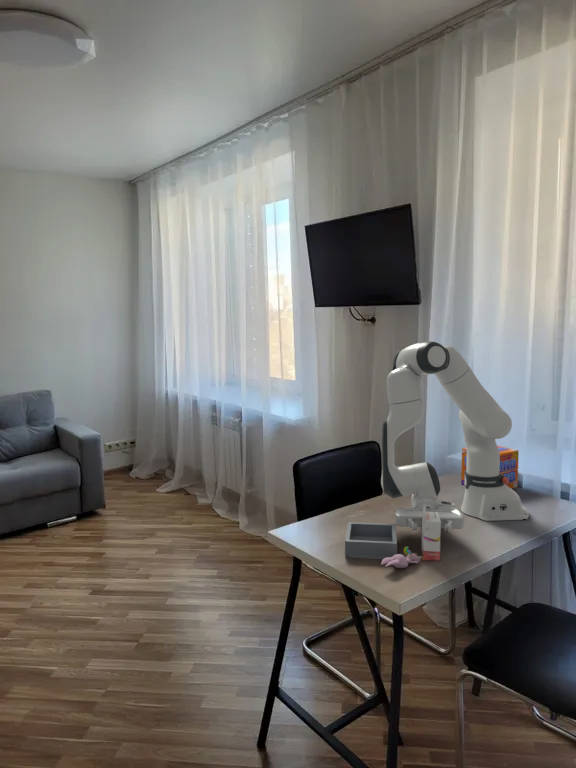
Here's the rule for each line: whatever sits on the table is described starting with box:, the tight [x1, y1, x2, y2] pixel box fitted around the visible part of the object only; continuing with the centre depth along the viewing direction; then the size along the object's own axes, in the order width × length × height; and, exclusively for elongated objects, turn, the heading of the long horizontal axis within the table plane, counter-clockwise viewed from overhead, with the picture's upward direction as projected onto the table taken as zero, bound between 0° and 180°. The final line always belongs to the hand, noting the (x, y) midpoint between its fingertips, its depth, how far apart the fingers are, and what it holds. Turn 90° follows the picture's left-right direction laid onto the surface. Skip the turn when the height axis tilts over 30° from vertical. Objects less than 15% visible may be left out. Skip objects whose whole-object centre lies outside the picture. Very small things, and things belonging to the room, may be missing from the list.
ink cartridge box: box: [421, 503, 442, 562], centre depth 161 cm, size 9×5×15 cm, turn 170°
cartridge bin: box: [344, 521, 398, 560], centre depth 167 cm, size 15×15×5 cm
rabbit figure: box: [381, 546, 425, 569], centre depth 155 cm, size 6×6×15 cm
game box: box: [460, 445, 520, 489], centre depth 223 cm, size 16×16×16 cm
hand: (430, 528), depth 161 cm, fingers open, 8 cm apart
